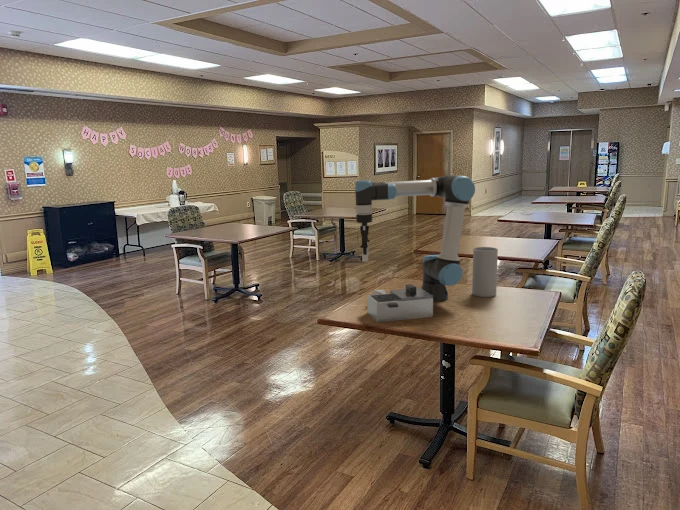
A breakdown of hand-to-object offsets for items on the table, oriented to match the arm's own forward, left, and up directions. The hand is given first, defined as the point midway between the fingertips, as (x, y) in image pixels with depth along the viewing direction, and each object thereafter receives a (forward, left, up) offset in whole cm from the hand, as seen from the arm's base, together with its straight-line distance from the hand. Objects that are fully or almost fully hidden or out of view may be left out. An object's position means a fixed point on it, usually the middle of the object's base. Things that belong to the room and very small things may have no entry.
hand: (365, 258), depth 247 cm
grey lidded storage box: (-14, +8, -27) cm, 31 cm away
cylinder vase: (-70, -12, -27) cm, 76 cm away
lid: (-20, +8, -18) cm, 28 cm away
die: (-10, -10, -27) cm, 31 cm away
